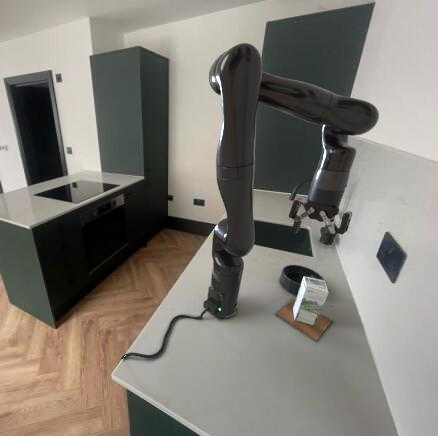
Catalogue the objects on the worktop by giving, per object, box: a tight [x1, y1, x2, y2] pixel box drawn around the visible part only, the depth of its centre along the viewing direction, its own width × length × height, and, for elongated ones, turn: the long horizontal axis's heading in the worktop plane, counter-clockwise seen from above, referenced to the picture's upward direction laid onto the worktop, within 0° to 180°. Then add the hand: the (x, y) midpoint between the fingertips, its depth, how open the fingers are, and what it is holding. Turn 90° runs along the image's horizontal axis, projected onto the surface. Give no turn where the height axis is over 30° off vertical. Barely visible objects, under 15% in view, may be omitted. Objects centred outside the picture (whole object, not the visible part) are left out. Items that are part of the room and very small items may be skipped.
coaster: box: [275, 299, 333, 342], centre depth 76 cm, size 12×12×1 cm
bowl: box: [278, 264, 325, 297], centre depth 89 cm, size 14×14×6 cm
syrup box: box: [293, 276, 330, 326], centre depth 73 cm, size 6×6×14 cm
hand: (310, 237), depth 69 cm, fingers open, 8 cm apart
